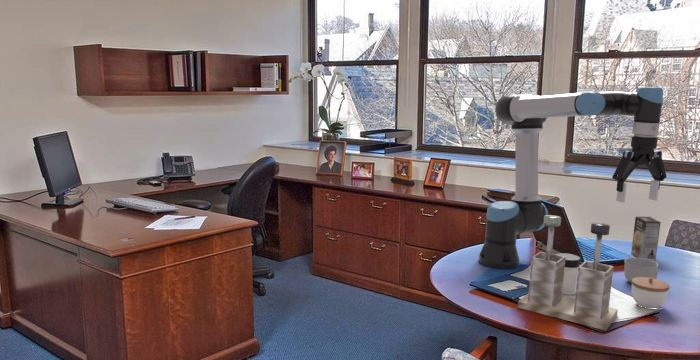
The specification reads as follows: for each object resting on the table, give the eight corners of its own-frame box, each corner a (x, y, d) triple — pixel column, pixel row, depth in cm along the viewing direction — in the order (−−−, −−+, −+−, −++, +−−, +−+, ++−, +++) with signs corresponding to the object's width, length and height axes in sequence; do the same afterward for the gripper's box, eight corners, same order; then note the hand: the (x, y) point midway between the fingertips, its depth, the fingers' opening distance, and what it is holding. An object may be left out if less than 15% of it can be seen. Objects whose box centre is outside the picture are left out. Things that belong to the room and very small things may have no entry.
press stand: (517, 307, 181) (521, 258, 179) (532, 294, 193) (537, 248, 190) (606, 330, 166) (612, 277, 164) (617, 315, 178) (622, 265, 175)
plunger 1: (533, 270, 181) (538, 217, 178) (540, 265, 186) (545, 213, 183) (554, 275, 177) (559, 220, 174) (560, 270, 182) (566, 216, 179)
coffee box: (630, 253, 242) (634, 216, 240) (645, 253, 242) (650, 216, 240) (640, 260, 233) (645, 221, 231) (656, 260, 233) (661, 222, 230)
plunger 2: (580, 281, 173) (586, 225, 170) (586, 275, 178) (591, 221, 175) (603, 286, 169) (609, 228, 166) (608, 280, 174) (614, 224, 171)
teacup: (660, 289, 201) (663, 267, 199) (626, 286, 203) (629, 264, 201) (648, 276, 214) (650, 255, 213) (616, 273, 216) (619, 253, 215)
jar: (583, 293, 195) (587, 259, 193) (565, 296, 192) (569, 262, 189) (563, 284, 203) (566, 251, 201) (545, 287, 200) (548, 254, 197)
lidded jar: (622, 299, 191) (625, 272, 189) (653, 299, 192) (657, 272, 190) (641, 312, 180) (644, 283, 179) (673, 312, 181) (677, 283, 180)
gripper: (623, 137, 178) (615, 204, 182) (684, 136, 186) (675, 201, 190) (605, 134, 185) (597, 199, 189) (664, 134, 193) (656, 196, 197)
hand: (636, 200), depth 190 cm, fingers open, 13 cm apart
